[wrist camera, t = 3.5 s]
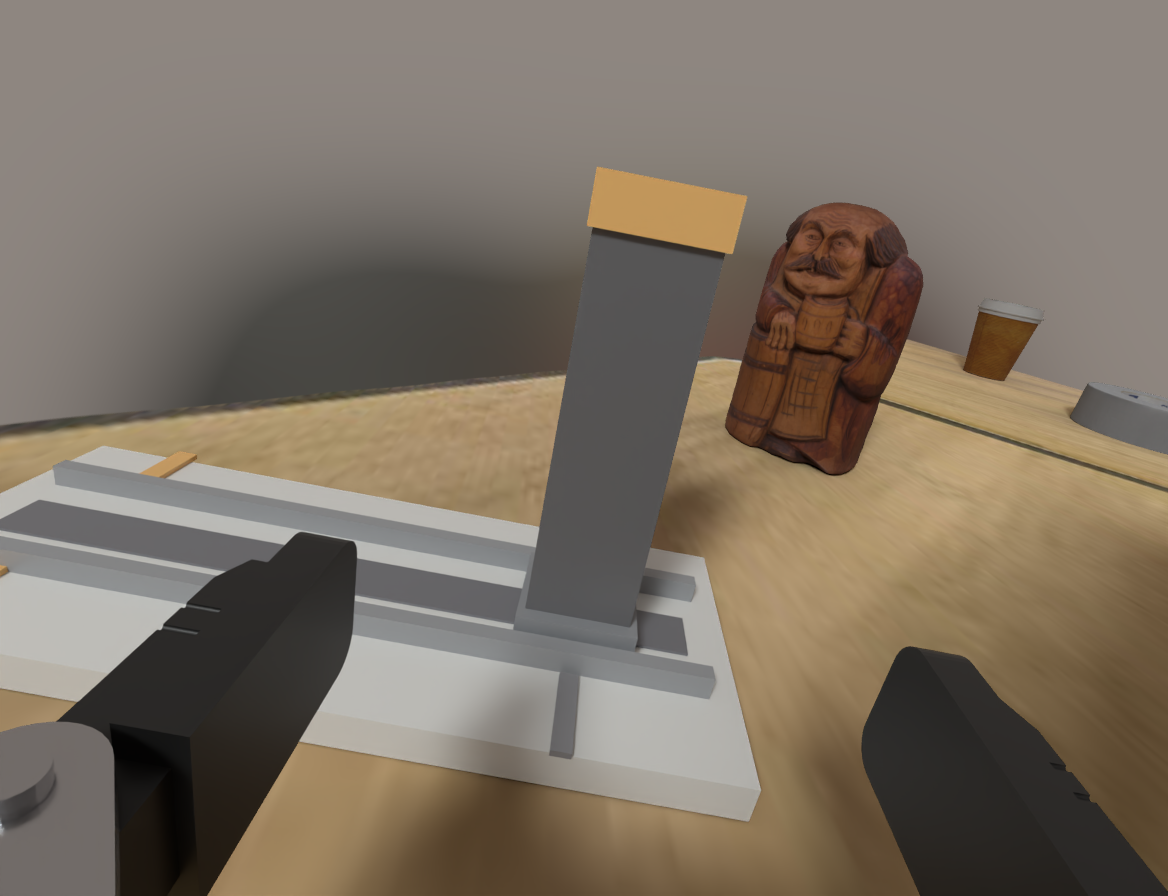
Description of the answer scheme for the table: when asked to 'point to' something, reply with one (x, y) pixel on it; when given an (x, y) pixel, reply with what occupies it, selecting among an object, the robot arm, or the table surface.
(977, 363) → the disposable coffee cup
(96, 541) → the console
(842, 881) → the table surface
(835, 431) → the wooden figurine
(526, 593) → the fader
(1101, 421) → the tape roll
